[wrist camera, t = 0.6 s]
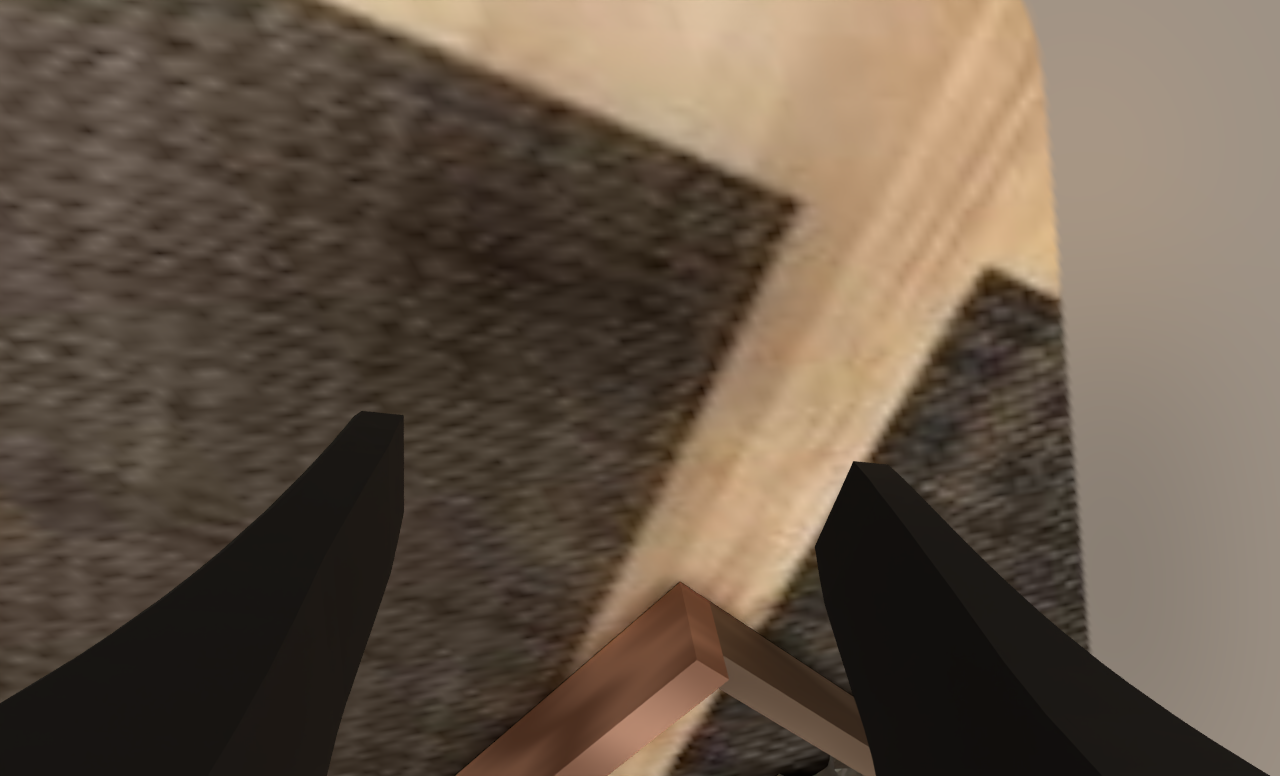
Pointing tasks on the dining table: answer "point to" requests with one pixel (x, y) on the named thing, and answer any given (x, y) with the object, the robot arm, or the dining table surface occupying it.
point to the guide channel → (672, 695)
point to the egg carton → (836, 769)
